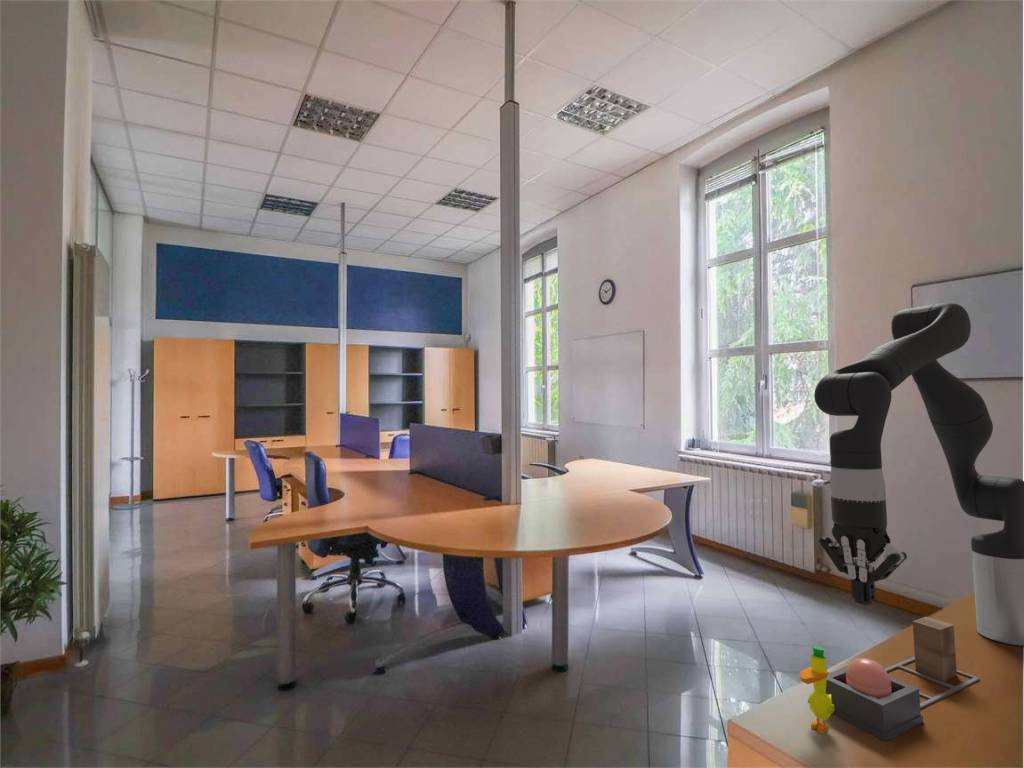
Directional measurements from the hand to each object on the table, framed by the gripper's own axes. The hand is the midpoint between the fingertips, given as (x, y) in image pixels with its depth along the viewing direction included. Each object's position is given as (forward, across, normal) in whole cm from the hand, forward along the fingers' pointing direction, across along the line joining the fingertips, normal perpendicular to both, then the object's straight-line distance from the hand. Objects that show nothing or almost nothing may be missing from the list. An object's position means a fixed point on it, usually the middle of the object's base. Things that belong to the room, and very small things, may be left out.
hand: (863, 603), depth 84 cm
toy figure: (+18, +2, +10) cm, 21 cm away
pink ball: (+15, 0, 0) cm, 15 cm away
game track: (+17, +2, -17) cm, 24 cm away
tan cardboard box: (+18, +2, -24) cm, 29 cm away
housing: (+18, 0, 0) cm, 18 cm away
